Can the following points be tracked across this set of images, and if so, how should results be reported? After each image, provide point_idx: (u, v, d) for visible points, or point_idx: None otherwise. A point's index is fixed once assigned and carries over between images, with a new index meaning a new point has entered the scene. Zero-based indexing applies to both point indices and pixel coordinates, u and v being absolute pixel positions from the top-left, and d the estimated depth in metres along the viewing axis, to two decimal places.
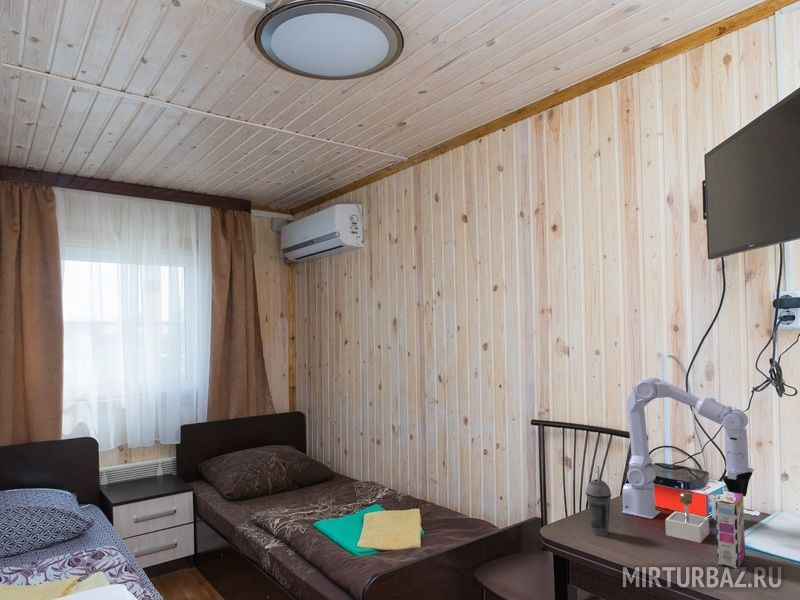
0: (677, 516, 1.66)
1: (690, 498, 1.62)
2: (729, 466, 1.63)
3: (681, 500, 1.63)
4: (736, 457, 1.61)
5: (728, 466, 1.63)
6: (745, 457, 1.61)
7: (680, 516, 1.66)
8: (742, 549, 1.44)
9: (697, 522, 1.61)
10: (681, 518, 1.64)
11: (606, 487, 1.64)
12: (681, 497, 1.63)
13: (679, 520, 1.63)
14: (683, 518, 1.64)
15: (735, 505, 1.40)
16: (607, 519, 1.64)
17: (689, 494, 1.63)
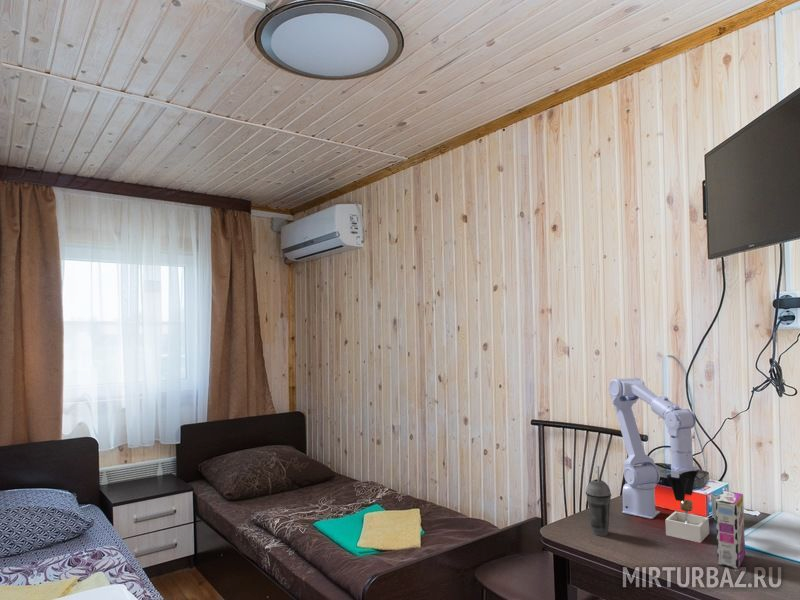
0: None
1: (690, 505, 1.62)
2: (674, 465, 1.64)
3: (681, 507, 1.63)
4: (681, 456, 1.63)
5: (673, 465, 1.64)
6: (689, 456, 1.62)
7: None
8: (742, 549, 1.44)
9: None
10: None
11: (606, 487, 1.64)
12: (681, 504, 1.63)
13: None
14: None
15: (735, 505, 1.40)
16: (607, 519, 1.64)
17: (689, 501, 1.63)
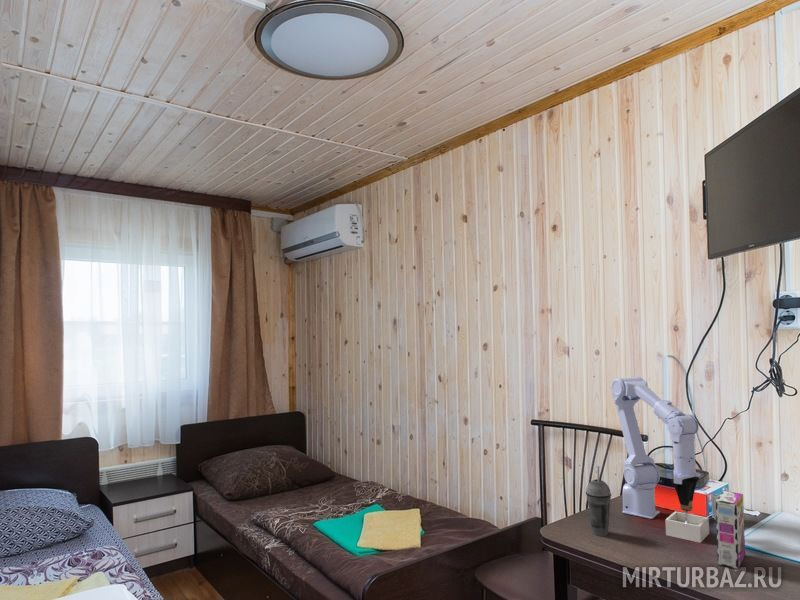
0: None
1: (690, 505, 1.62)
2: (676, 471, 1.63)
3: (681, 507, 1.63)
4: (683, 462, 1.62)
5: (675, 471, 1.64)
6: (691, 462, 1.61)
7: None
8: (742, 549, 1.44)
9: None
10: None
11: (606, 487, 1.64)
12: None
13: None
14: None
15: (735, 505, 1.40)
16: (607, 519, 1.64)
17: (689, 501, 1.63)
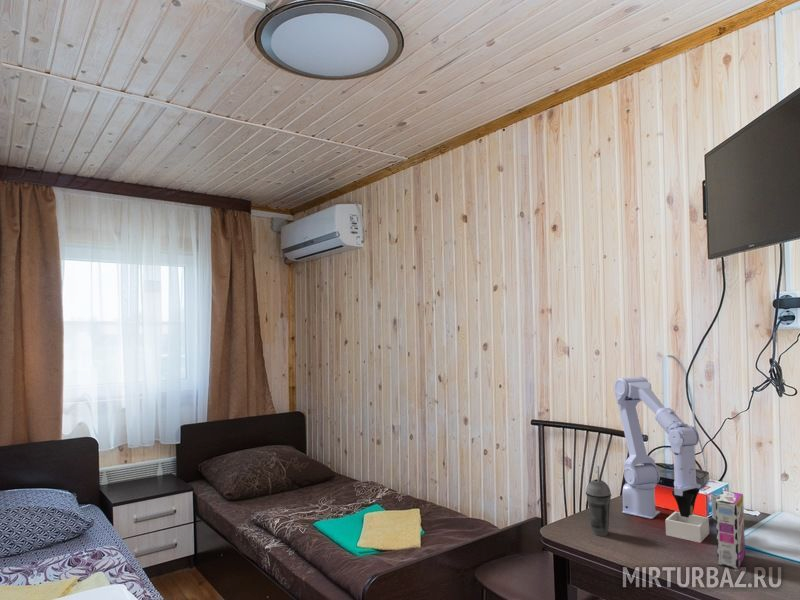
0: None
1: (691, 509, 1.62)
2: (677, 482, 1.63)
3: None
4: (684, 473, 1.62)
5: (676, 482, 1.64)
6: (692, 473, 1.61)
7: None
8: (742, 549, 1.44)
9: None
10: None
11: (606, 487, 1.64)
12: None
13: None
14: None
15: (735, 505, 1.40)
16: (607, 519, 1.64)
17: None
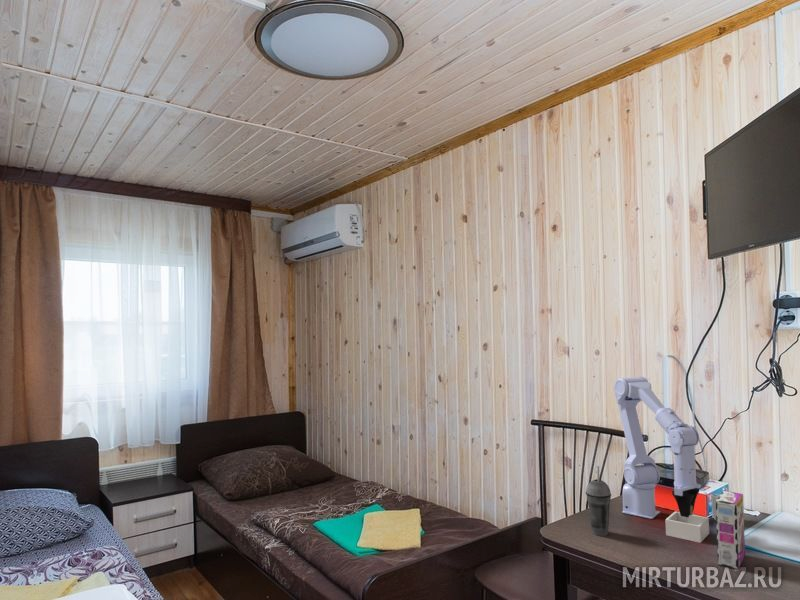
0: None
1: (691, 509, 1.62)
2: (677, 482, 1.63)
3: None
4: (684, 473, 1.62)
5: (676, 482, 1.64)
6: (692, 473, 1.61)
7: None
8: (742, 549, 1.44)
9: None
10: None
11: (606, 487, 1.64)
12: None
13: None
14: None
15: (735, 505, 1.40)
16: (607, 519, 1.64)
17: None
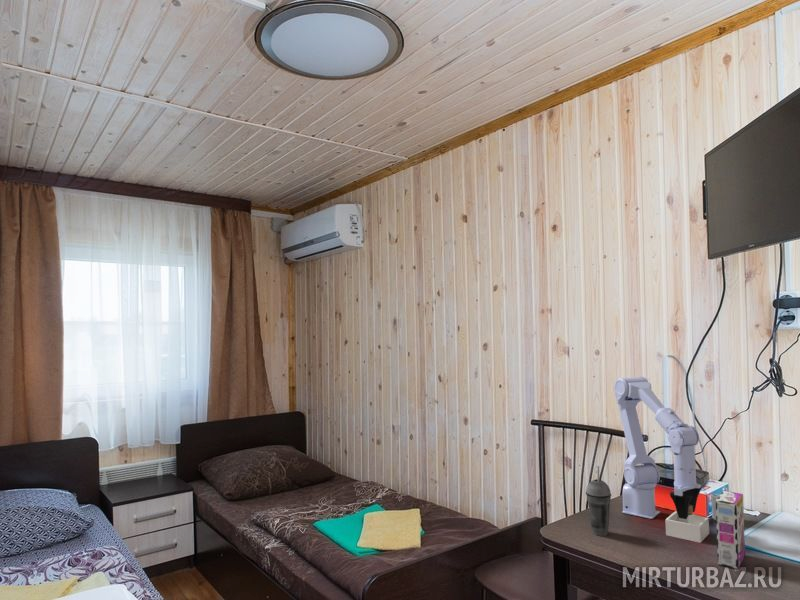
0: None
1: (691, 509, 1.62)
2: (677, 482, 1.63)
3: None
4: (684, 473, 1.62)
5: (676, 482, 1.64)
6: (692, 473, 1.61)
7: None
8: (742, 549, 1.44)
9: None
10: None
11: (606, 487, 1.64)
12: None
13: None
14: None
15: (735, 505, 1.40)
16: (607, 519, 1.64)
17: (690, 505, 1.63)
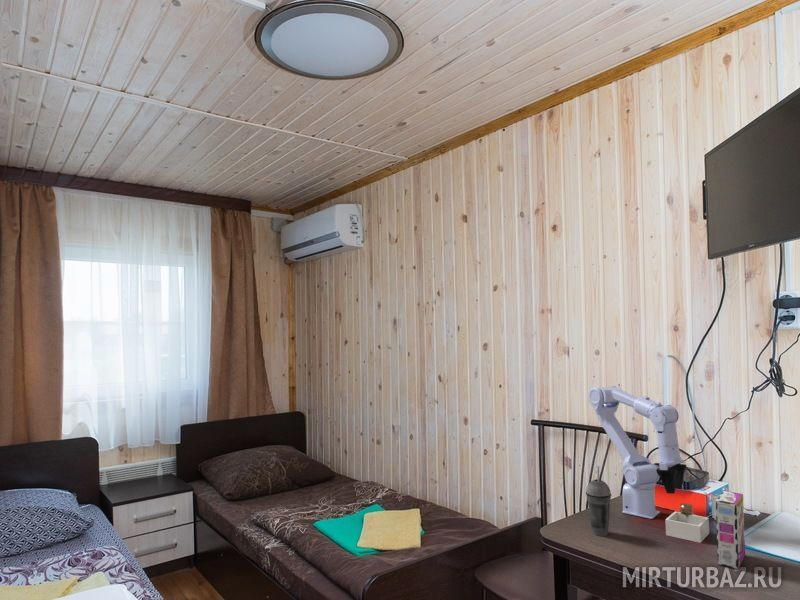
0: None
1: (691, 509, 1.62)
2: (662, 459, 1.71)
3: (682, 511, 1.63)
4: (667, 450, 1.70)
5: (661, 459, 1.71)
6: (675, 449, 1.70)
7: None
8: (742, 549, 1.44)
9: None
10: None
11: (606, 487, 1.64)
12: (682, 508, 1.63)
13: None
14: None
15: (735, 505, 1.40)
16: (607, 519, 1.64)
17: (690, 505, 1.63)
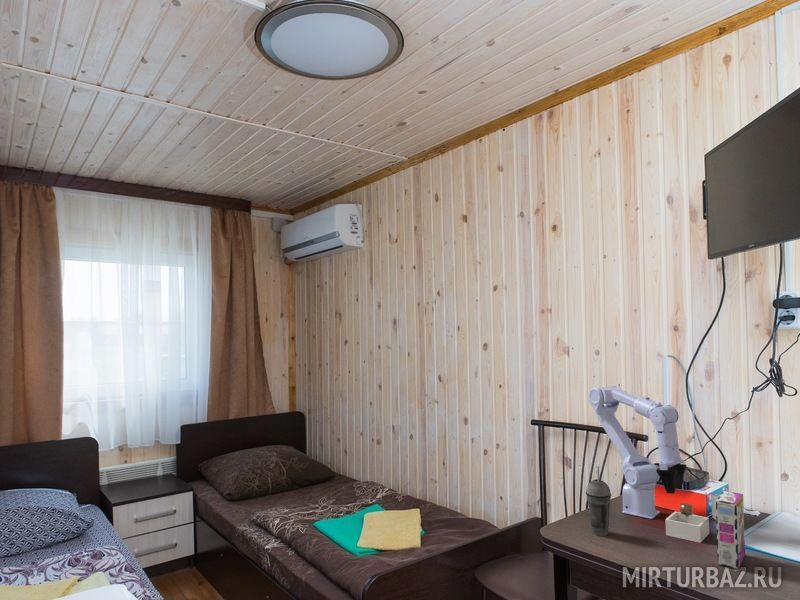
0: None
1: (691, 509, 1.62)
2: (662, 459, 1.71)
3: (682, 511, 1.63)
4: (667, 450, 1.70)
5: (661, 459, 1.71)
6: (675, 449, 1.70)
7: None
8: (742, 549, 1.44)
9: None
10: None
11: (606, 487, 1.64)
12: (682, 508, 1.63)
13: None
14: None
15: (735, 505, 1.40)
16: (607, 519, 1.64)
17: (690, 505, 1.63)
